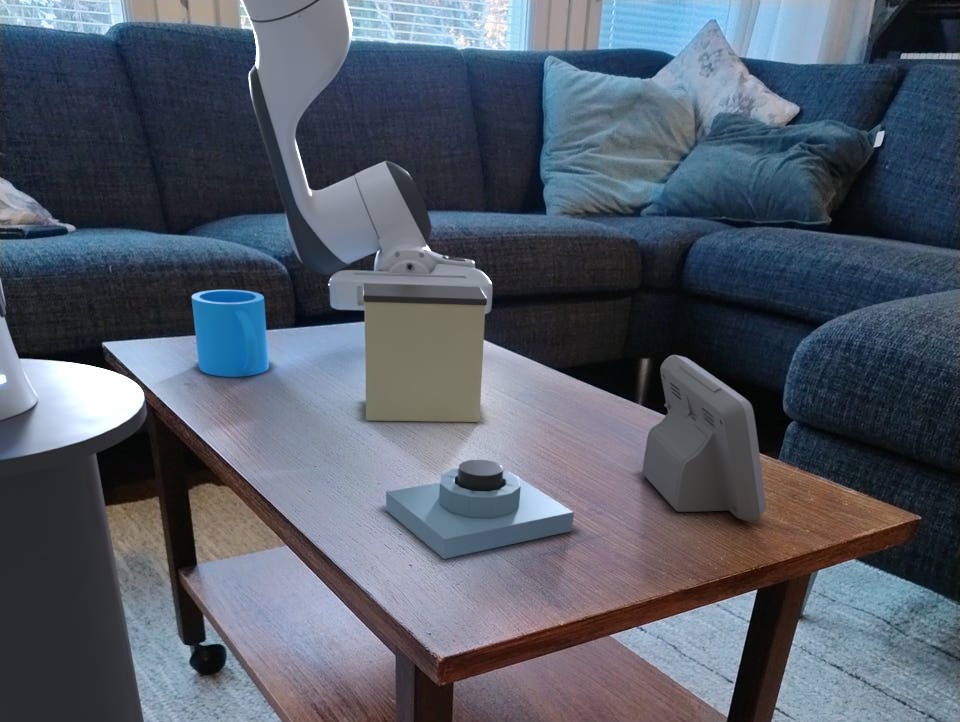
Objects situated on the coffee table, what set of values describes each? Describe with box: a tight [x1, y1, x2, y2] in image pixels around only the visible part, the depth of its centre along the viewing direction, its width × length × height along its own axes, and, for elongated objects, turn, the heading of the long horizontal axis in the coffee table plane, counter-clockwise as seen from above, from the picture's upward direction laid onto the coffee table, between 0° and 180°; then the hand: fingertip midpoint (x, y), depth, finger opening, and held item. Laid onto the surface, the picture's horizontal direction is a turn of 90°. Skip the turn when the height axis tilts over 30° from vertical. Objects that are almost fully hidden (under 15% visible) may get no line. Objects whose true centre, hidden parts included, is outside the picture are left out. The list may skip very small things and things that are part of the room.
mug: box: [191, 289, 270, 378], centre depth 106 cm, size 12×8×8 cm
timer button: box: [457, 459, 504, 491], centre depth 73 cm, size 4×4×2 cm
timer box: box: [385, 467, 575, 560], centre depth 74 cm, size 12×10×4 cm
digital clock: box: [641, 354, 767, 522], centre depth 80 cm, size 16×9×11 cm, turn 179°
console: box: [363, 283, 487, 423], centre depth 95 cm, size 6×12×13 cm, turn 97°
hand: (414, 305), depth 107 cm, fingers closed
